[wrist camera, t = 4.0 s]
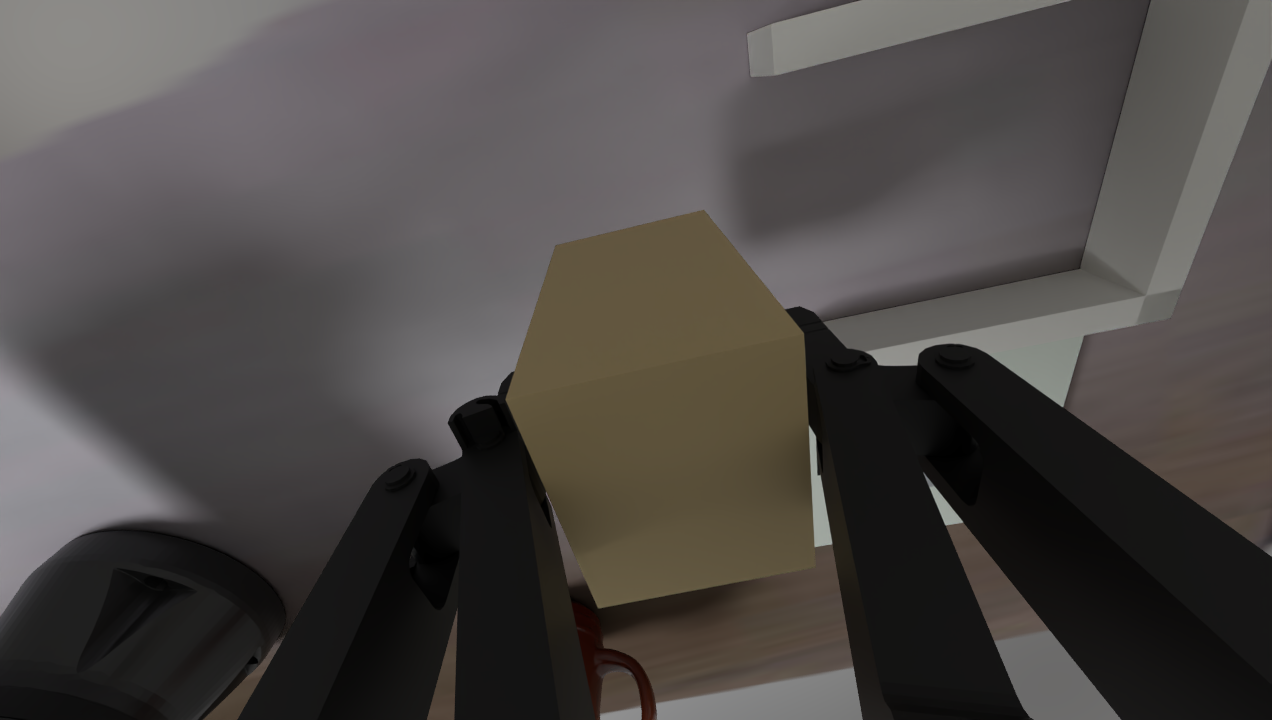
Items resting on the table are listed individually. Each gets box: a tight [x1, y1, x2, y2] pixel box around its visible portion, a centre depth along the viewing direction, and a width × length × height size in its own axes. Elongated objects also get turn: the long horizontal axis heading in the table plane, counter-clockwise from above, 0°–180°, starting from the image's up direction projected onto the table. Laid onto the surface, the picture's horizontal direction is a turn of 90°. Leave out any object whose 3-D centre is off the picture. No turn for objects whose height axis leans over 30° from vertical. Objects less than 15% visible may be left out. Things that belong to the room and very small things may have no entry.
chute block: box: [505, 210, 816, 609], centre depth 13 cm, size 5×6×9 cm
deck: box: [747, 0, 1272, 547], centre depth 24 cm, size 17×29×4 cm, turn 13°
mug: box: [571, 600, 657, 720], centre depth 33 cm, size 12×9×10 cm
